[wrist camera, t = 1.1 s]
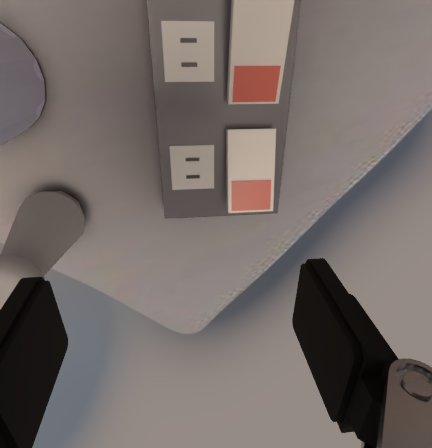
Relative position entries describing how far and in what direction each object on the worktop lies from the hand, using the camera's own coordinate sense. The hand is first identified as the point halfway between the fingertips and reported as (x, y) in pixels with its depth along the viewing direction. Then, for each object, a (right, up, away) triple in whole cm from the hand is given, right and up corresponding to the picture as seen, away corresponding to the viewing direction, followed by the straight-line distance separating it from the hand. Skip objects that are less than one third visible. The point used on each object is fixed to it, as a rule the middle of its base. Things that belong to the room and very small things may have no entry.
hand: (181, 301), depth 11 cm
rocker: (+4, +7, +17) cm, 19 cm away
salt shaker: (-14, +4, +22) cm, 26 cm away
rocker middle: (+4, +15, +12) cm, 20 cm away
